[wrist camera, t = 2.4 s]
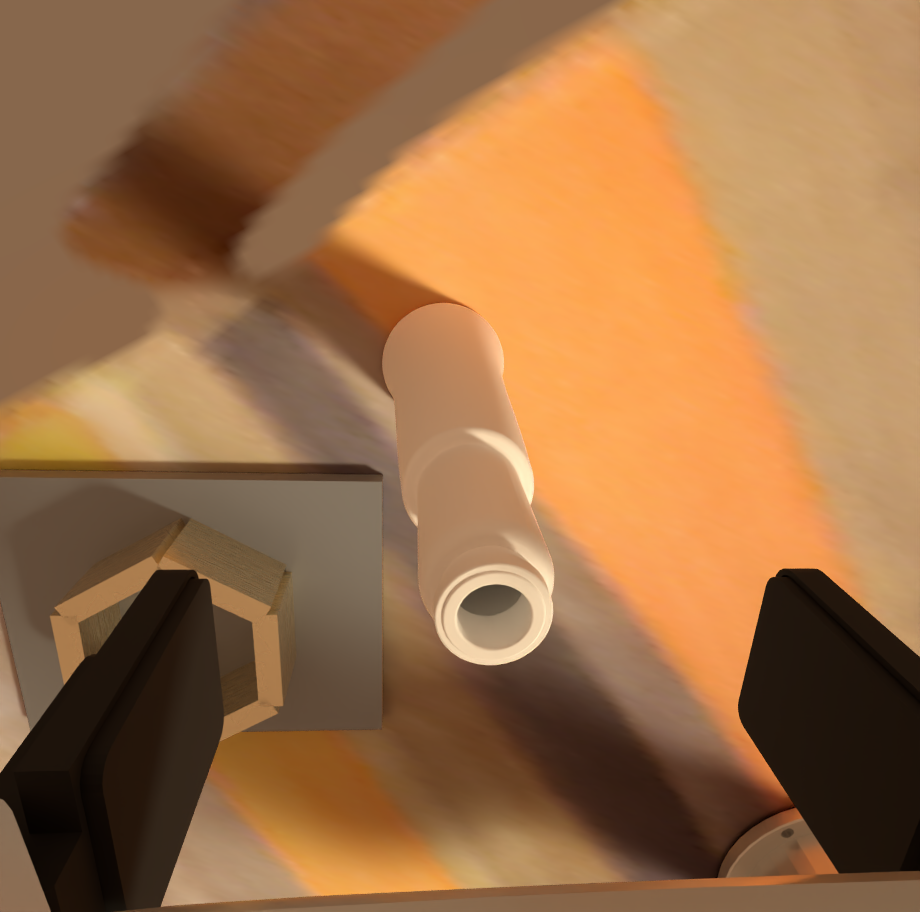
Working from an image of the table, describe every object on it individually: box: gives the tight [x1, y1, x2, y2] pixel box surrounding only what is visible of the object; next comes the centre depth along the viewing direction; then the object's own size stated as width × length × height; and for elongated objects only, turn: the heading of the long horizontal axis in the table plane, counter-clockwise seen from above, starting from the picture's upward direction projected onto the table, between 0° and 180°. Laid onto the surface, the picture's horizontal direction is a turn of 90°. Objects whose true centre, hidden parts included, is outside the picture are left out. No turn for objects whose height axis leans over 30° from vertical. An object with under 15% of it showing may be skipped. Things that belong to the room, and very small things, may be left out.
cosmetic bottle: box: [382, 303, 554, 665], centre depth 22 cm, size 6×6×22 cm
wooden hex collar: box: [50, 518, 296, 742], centre depth 33 cm, size 10×12×4 cm
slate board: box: [0, 470, 383, 732], centre depth 36 cm, size 20×16×1 cm
